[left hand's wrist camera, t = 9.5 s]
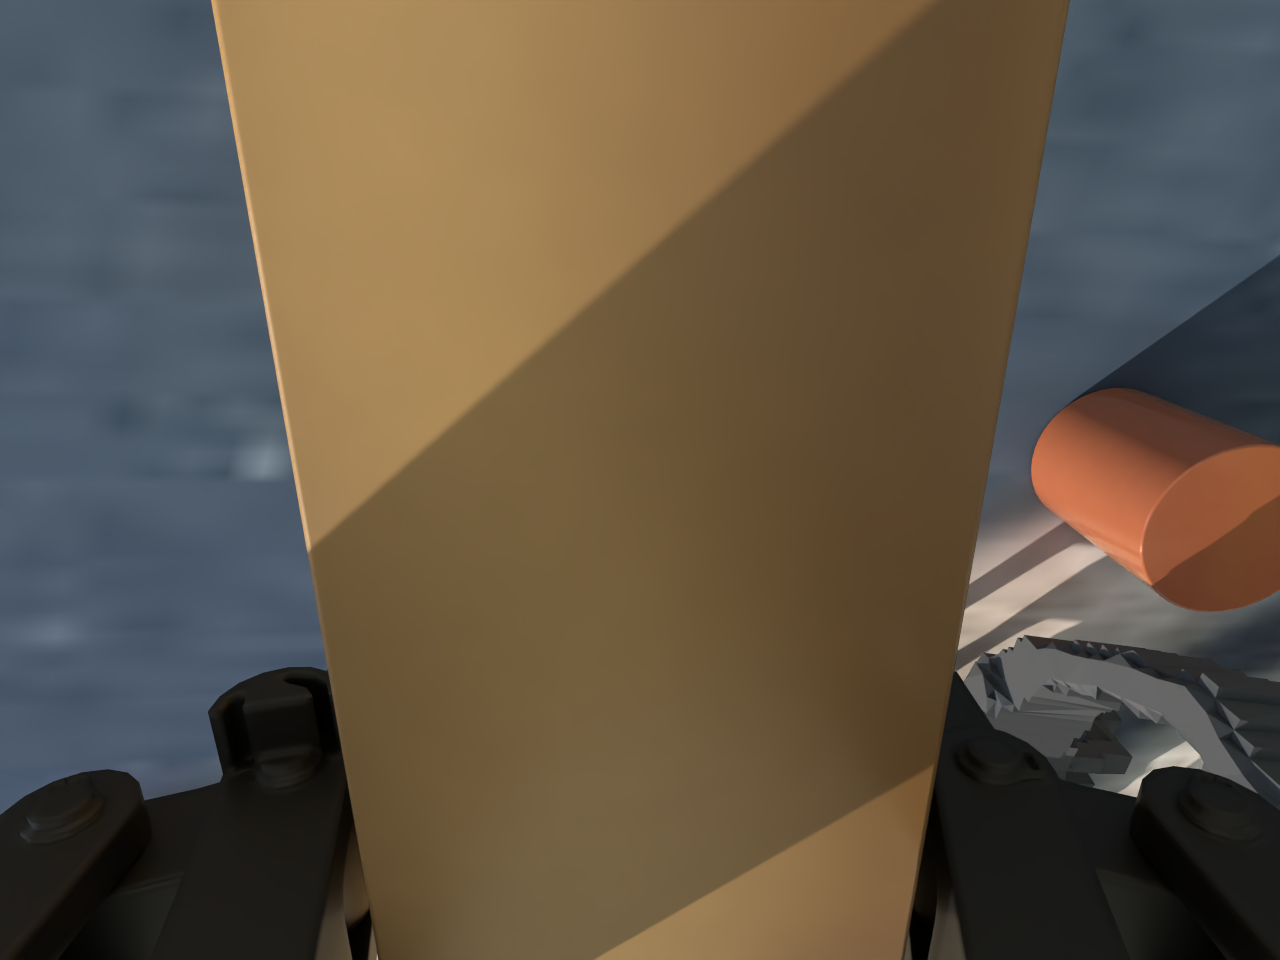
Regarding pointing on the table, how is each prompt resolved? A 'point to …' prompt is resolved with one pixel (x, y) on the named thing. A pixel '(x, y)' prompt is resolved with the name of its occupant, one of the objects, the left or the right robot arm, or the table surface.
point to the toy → (1149, 686)
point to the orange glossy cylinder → (1166, 496)
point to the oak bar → (640, 441)
